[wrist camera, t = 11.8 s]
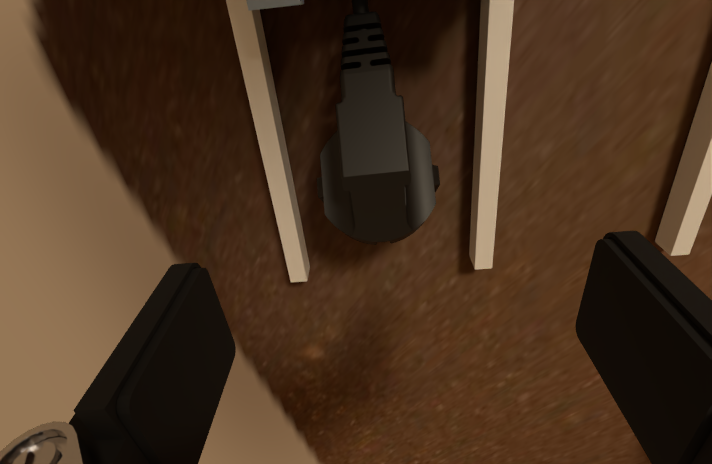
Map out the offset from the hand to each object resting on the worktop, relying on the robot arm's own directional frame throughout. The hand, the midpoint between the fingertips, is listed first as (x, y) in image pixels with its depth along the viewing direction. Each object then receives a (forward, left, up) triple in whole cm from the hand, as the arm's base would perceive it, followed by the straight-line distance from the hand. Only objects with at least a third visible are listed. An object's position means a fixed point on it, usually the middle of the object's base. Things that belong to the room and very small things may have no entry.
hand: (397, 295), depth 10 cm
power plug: (-2, 0, -14) cm, 14 cm away
